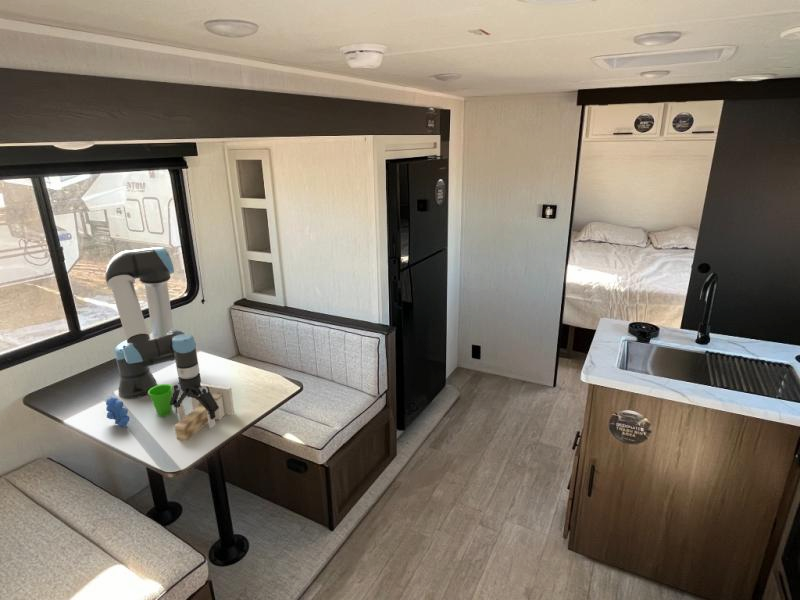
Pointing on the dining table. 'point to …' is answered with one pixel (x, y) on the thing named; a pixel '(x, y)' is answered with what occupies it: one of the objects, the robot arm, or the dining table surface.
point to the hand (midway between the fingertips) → (197, 423)
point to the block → (191, 423)
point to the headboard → (219, 400)
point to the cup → (161, 398)
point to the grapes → (117, 411)
